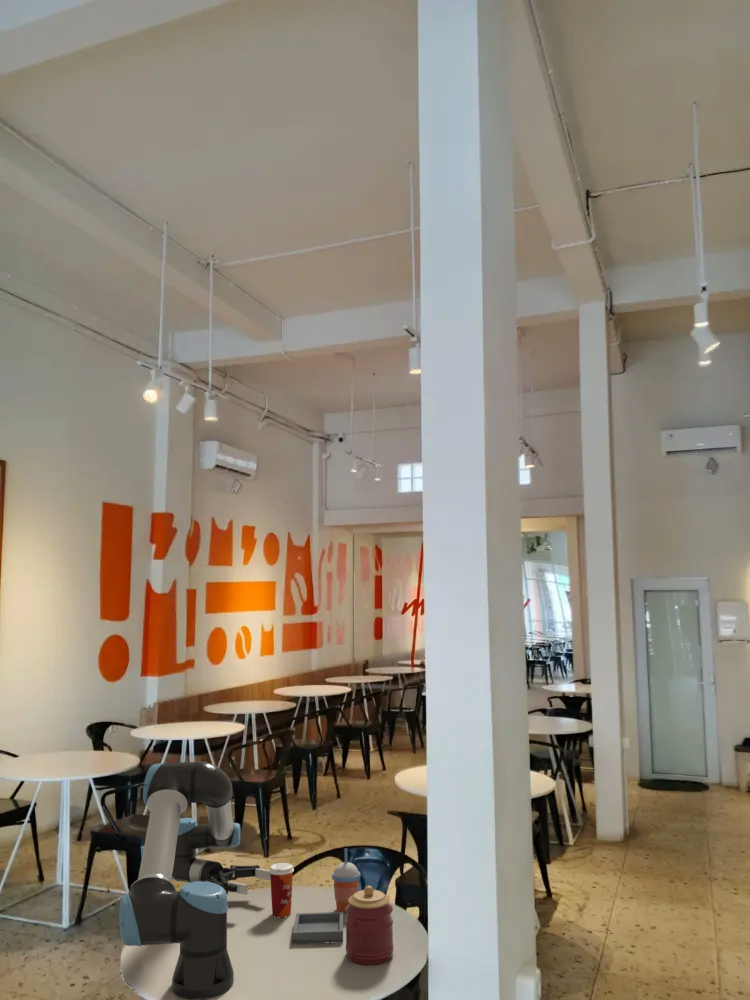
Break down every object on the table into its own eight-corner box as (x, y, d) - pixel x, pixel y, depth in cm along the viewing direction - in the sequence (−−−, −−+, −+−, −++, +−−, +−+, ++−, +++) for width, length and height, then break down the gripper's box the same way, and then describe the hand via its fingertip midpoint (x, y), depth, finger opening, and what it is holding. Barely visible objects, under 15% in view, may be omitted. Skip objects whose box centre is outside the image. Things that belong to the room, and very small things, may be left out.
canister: (355, 969, 200) (354, 897, 202) (339, 949, 212) (338, 881, 214) (401, 960, 205) (400, 890, 207) (382, 941, 217) (381, 875, 219)
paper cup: (289, 919, 233) (289, 870, 235) (265, 918, 234) (265, 869, 236) (297, 909, 240) (297, 862, 242) (273, 908, 242) (274, 861, 244)
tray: (293, 944, 216) (292, 932, 216) (296, 924, 230) (296, 913, 230) (343, 942, 216) (342, 931, 217) (343, 922, 230) (343, 911, 230)
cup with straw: (366, 907, 241) (365, 846, 244) (350, 917, 234) (349, 854, 236) (342, 902, 246) (342, 842, 249) (326, 911, 239) (325, 850, 241)
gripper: (230, 873, 263) (282, 882, 253) (180, 898, 241) (235, 909, 231) (231, 850, 264) (282, 858, 254) (181, 872, 242) (235, 882, 232)
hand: (260, 882), depth 242 cm, fingers open, 13 cm apart
